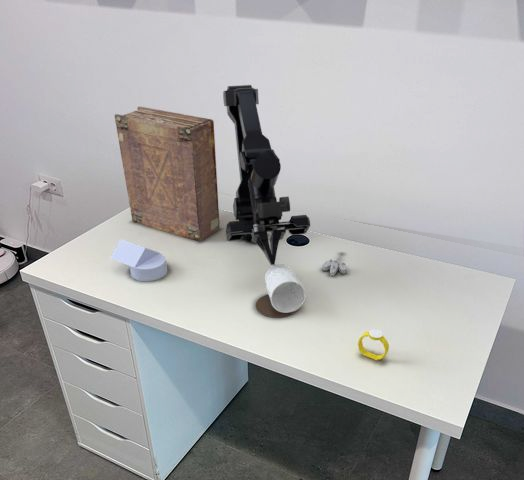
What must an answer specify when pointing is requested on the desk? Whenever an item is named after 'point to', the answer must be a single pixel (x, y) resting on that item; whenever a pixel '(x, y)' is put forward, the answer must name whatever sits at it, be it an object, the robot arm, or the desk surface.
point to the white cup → (284, 289)
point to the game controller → (334, 266)
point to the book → (170, 171)
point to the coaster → (269, 308)
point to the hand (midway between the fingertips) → (272, 264)
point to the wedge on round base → (140, 261)
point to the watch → (374, 335)
